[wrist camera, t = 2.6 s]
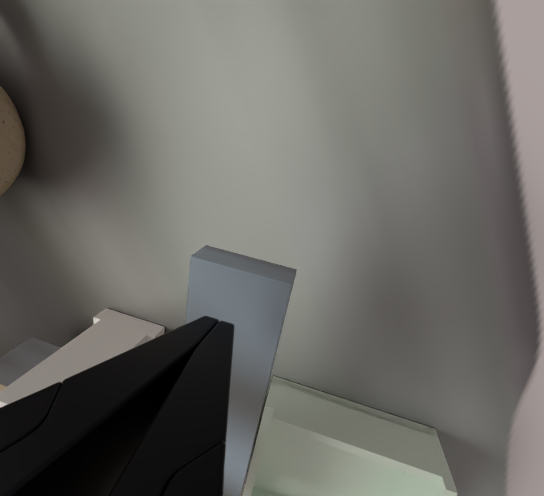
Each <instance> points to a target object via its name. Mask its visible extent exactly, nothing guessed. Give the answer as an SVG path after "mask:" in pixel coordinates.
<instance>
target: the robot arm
mask: <svg viewBox="0 0 544 496" xmlns="http://www.w3.org/2000/svg"><path fill="white" fill-rule="evenodd" d="M234 328H235V326H234V324H232V323H229V322H226V321H219V320H218V319H216V318H213V317H210V316H203V317H201V318H198V319H196V320H194V321H192V322H189V323H187V324H185V325H183V326H181V327H178V328H176V329H174V330H172V331H170V332H167V333H165V334H163V335H161V336H159V337H156V338H154V339H152V340H150V341H148V342H145V343H143V344H141V345H139V346H137V347H134V348H132V349H130V350H128V351H126V352H123V353H121V354H119V355H117V356H115V357H112V358H110V359H108V360H106V361H104V362H101V363H99V364H97V365H95V366H93V367H90V368H88V369H86V370H84V371H82V372H79V373H77V374H75V375H73V376H71V377H68V378H66V379H64V380H63V382H57V383H55V384H53V385H50V386H48V387H46V388H44V389H42V390H39V391H37V392H35V393H33V394H30V395H28V396H26V397H23V398H21V399H19V400H17V401H14V402H12V403H10V404H7V405H5V406H3V407H0V496H223V490H224V466H225V453H226V436H227V423H228V409H229V396H230V382H231V369H232V355H233V342H234Z"/></svg>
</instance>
